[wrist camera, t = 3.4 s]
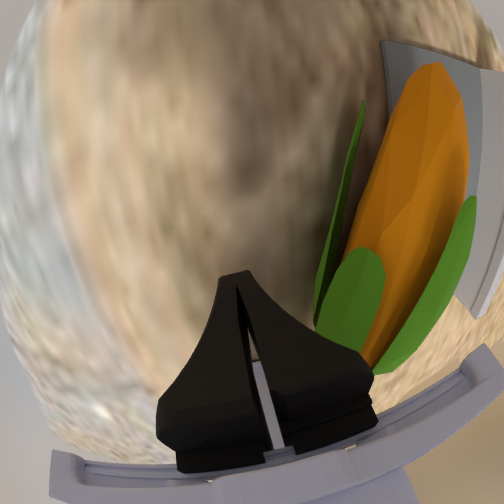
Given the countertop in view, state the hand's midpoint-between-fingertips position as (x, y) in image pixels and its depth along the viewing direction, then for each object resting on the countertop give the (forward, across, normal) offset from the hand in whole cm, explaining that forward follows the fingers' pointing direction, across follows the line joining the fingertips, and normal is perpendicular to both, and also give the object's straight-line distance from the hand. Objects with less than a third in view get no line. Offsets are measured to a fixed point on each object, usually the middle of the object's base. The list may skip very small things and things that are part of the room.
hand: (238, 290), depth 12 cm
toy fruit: (+4, -9, 0) cm, 9 cm away
